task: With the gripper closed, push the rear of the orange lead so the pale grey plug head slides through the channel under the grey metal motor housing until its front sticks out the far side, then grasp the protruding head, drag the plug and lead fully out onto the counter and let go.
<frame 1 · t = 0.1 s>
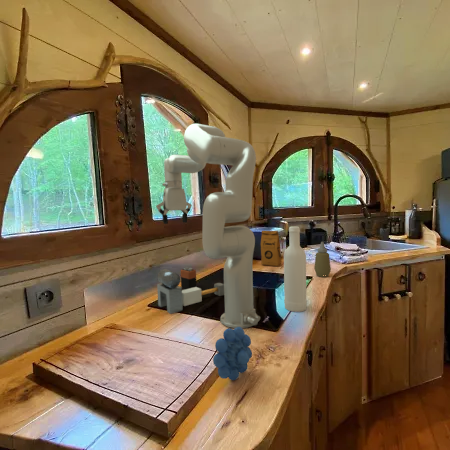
hand: (175, 223, 122), 31 cm above the counter, tool pointing down, fingers open, 9 cm apart
housing: (170, 307, 101), on the counter
plug: (190, 302, 107), on the counter
battery: (188, 289, 124), on the counter
coffee package: (271, 265, 167), on the counter
bottle: (295, 308, 97), on the counter
grapes: (237, 381, 58), on the counter
squeeze bottle: (322, 276, 139), on the counter
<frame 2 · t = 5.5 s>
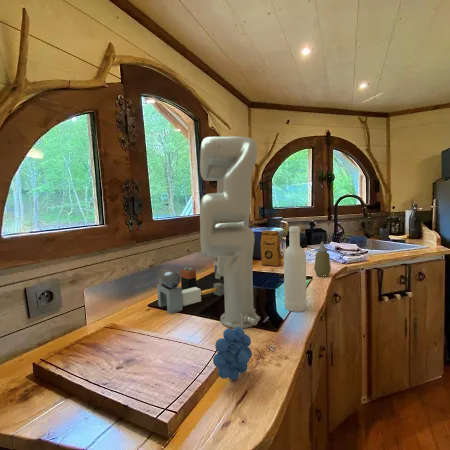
hand: (226, 289, 117), 1 cm above the counter, tool pointing down, fingers closed
plug: (190, 302, 107), on the counter, touching gripper
everything else where it was.
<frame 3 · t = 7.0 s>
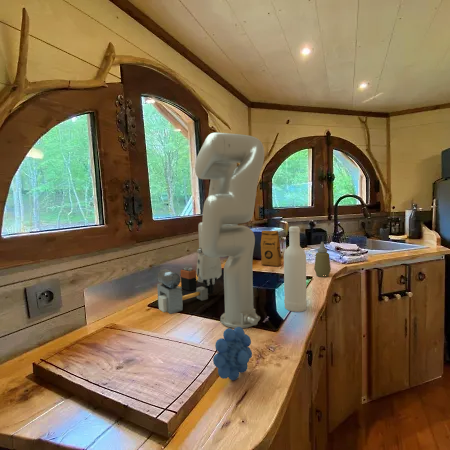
hand: (209, 293, 113), 1 cm above the counter, tool pointing down, fingers closed
plug: (170, 307, 101), on the counter, touching gripper
everything else where it was.
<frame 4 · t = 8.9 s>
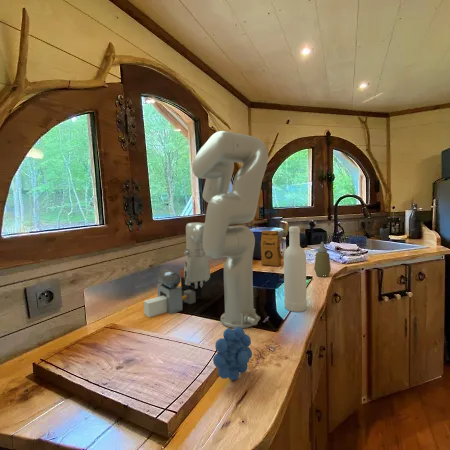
hand: (197, 296, 109), 1 cm above the counter, tool pointing down, fingers closed
plug: (157, 312, 97), on the counter, touching gripper
everything else where it was.
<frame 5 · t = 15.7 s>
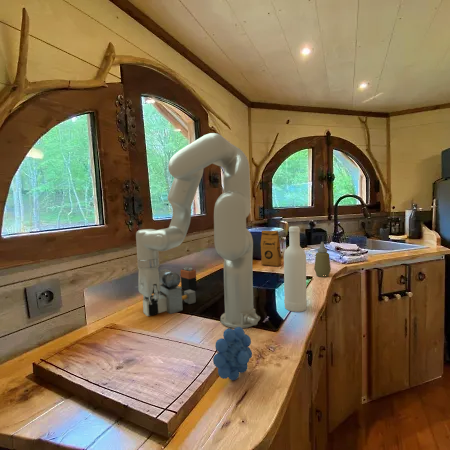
hand: (151, 311, 97), 0 cm above the counter, tool pointing down, fingers closed on plug, 4 cm apart
plug: (156, 311, 98), on the counter, touching gripper
everything else where it was.
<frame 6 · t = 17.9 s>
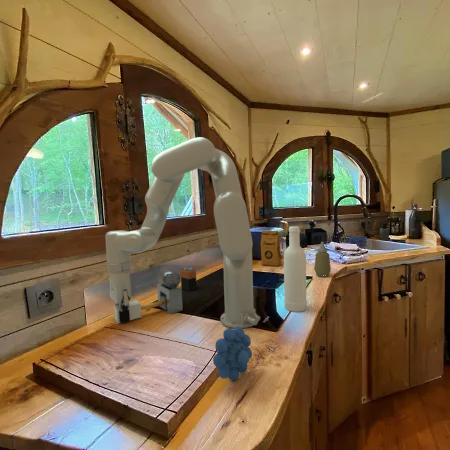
hand: (122, 318, 91), 1 cm above the counter, tool pointing down, fingers closed on plug, 4 cm apart
plug: (128, 318, 92), on the counter, touching gripper
everything else where it was.
when the fingers open (1 cm above the counter, at t = 20.2 s): plug stays where it is, on the counter.
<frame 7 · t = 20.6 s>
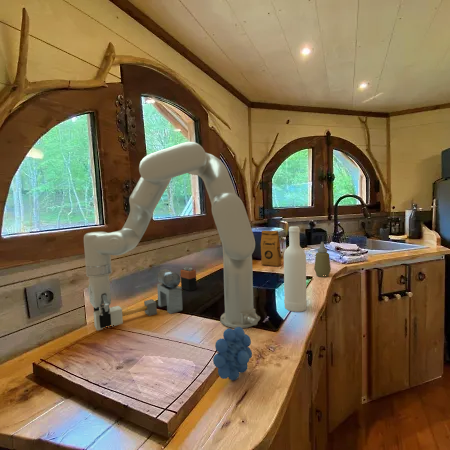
hand: (102, 321, 87), 2 cm above the counter, tool pointing down, fingers open, 8 cm apart
plug: (108, 324, 88), on the counter
everything else where it was.
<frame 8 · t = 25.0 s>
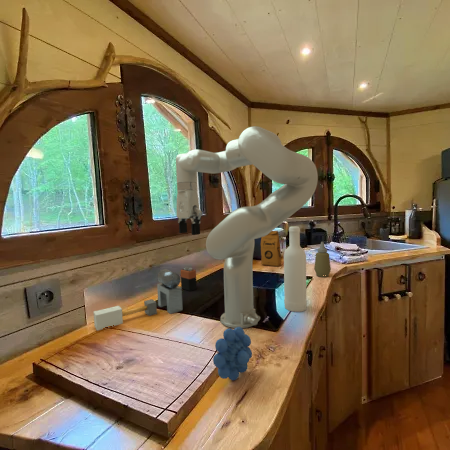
hand: (189, 233, 100), 28 cm above the counter, tool pointing down, fingers open, 9 cm apart
nothing on the counter moved.
at the end: plug inside the target area (1.0 cm from its centre), on the counter; plug touching counter; the gripper is holding nothing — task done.
